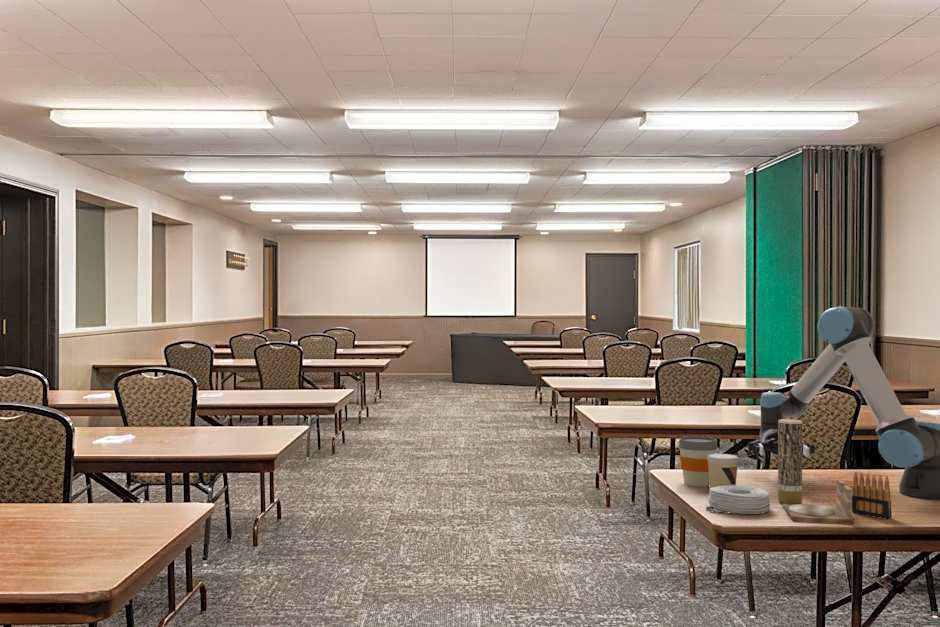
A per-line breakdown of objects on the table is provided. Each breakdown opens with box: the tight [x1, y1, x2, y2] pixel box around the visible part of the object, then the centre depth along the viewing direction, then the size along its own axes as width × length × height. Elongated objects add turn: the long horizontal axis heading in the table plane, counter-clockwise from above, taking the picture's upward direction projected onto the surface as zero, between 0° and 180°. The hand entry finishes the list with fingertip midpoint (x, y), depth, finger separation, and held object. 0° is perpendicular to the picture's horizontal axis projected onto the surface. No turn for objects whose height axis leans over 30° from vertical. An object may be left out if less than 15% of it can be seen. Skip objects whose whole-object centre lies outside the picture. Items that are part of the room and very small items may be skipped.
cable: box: [705, 485, 771, 515], centre depth 244 cm, size 18×18×6 cm
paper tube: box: [777, 418, 803, 505], centre depth 251 cm, size 7×7×25 cm
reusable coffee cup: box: [678, 436, 718, 487], centre depth 279 cm, size 13×13×15 cm
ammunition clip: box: [852, 471, 893, 520], centre depth 235 cm, size 11×2×12 cm, turn 40°
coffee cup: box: [707, 453, 739, 489], centre depth 264 cm, size 9×9×12 cm
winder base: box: [782, 479, 855, 525], centre depth 235 cm, size 16×16×9 cm
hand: (784, 451), depth 260 cm, fingers open, 13 cm apart
